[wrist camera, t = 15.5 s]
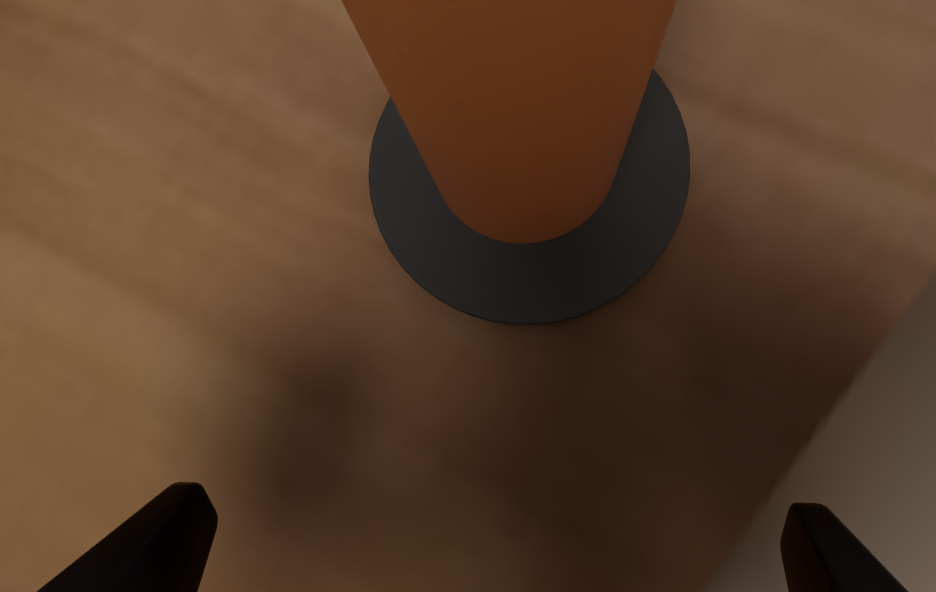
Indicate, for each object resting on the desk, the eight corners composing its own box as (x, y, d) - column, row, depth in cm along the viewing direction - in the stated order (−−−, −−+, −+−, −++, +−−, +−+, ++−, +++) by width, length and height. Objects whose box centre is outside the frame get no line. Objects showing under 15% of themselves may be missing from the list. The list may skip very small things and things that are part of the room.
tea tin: (637, 221, 17) (813, -82, 6) (451, 262, 17) (299, 46, 6) (595, 48, 18) (680, -488, 7) (417, 91, 18) (236, -351, 7)
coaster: (741, 96, 17) (746, 89, 17) (597, 382, 17) (598, 382, 16) (461, -21, 19) (459, -29, 19) (317, 238, 18) (312, 234, 18)
